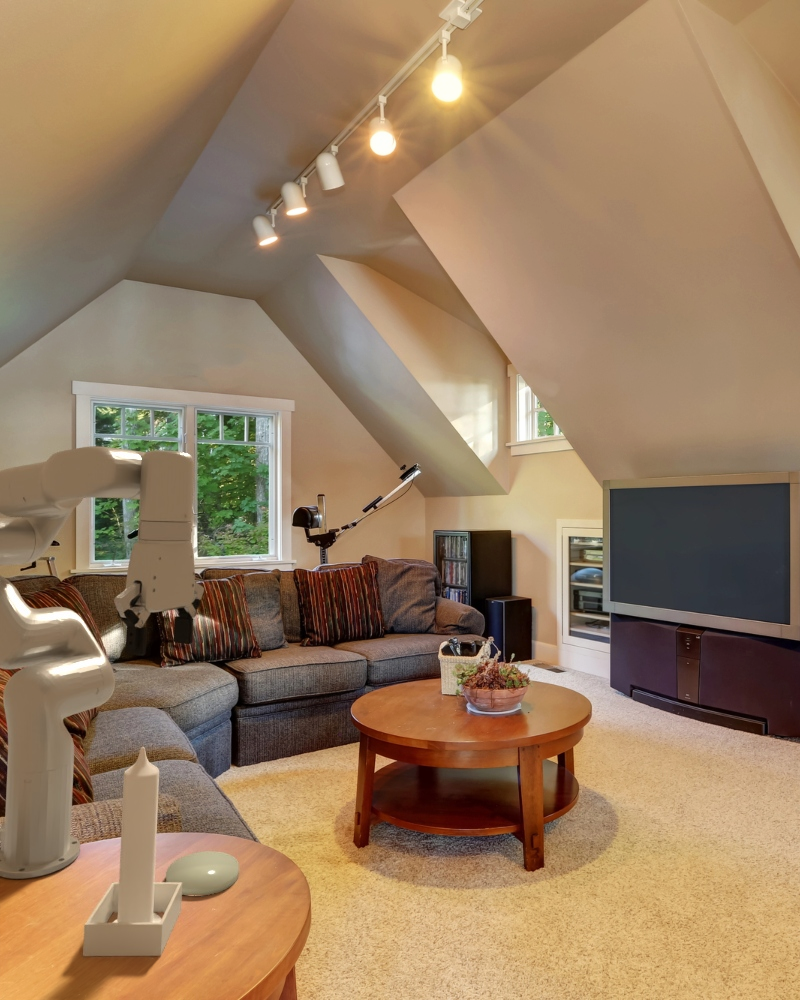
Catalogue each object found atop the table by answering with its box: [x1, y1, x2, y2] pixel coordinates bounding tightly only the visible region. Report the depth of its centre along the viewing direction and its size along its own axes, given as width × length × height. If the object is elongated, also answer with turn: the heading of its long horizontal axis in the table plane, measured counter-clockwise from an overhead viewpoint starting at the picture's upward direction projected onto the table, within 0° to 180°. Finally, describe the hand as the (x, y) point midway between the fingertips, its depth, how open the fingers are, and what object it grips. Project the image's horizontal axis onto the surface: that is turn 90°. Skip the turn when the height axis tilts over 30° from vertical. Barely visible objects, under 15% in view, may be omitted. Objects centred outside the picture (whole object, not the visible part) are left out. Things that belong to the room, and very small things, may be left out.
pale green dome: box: [165, 850, 240, 896], centre depth 105 cm, size 11×11×1 cm
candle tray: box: [82, 881, 183, 957], centre depth 91 cm, size 10×10×4 cm
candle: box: [111, 746, 162, 923], centre depth 91 cm, size 7×7×25 cm
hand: (160, 648), depth 99 cm, fingers open, 9 cm apart
